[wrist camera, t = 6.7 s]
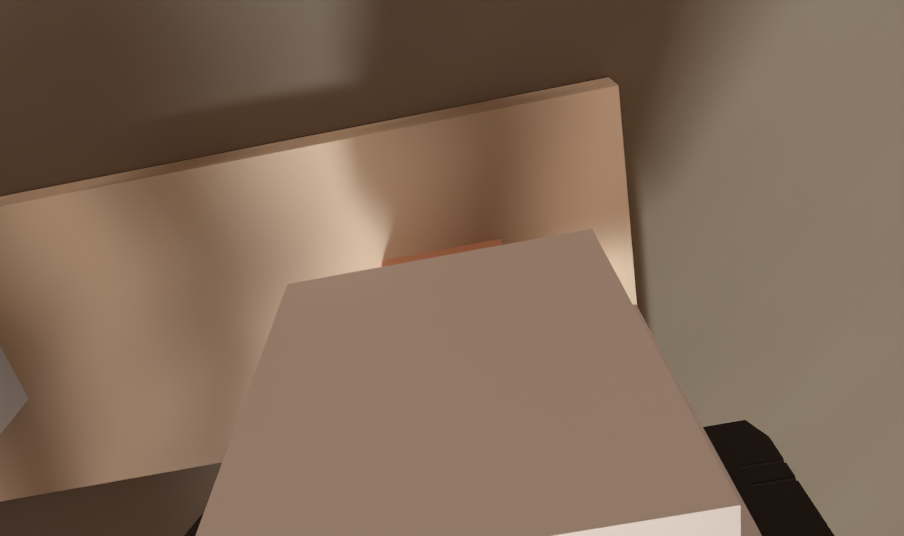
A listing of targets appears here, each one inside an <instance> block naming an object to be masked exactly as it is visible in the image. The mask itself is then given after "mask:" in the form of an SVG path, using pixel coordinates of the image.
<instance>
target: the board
mask: <svg viewBox="0 0 904 536" xmlns="http://www.w3.org/2000/svg"><path fill="white" fill-rule="evenodd" d="M587 229H592V230H593V232H594V233H595V235H596V237H597V239H598V241H599V243H600V245H601V246H602V248H603V250H604V252H605V254H606V256H607V258H608V259H609V261H610V263H611V265H612V267H613V269H614V271H615V272H616V274H617V276H618V278H619V280H620V282H621V284H622V286H623V287H624V289H625V291H626V293H627V295H628V297H629V299H630V300H631V302H632V304H633V305H635V304H636V305H637V300H636V288H635V276H634V264H633V252H632V240H631V228H630V216H629V204H628V192H627V180H626V169H625V157H624V145H623V133H622V121H621V109H620V97H619V85H617V84H616V83H615V82H614V81H613V80H611V79H610V78H609V77H607V78H602V79H597V80H592V81H587V82H582V83H576V84H571V85H566V86H561V87H556V88H551V89H546V90H541V91H536V92H531V93H525V94H520V95H515V96H510V97H505V98H500V99H495V100H490V101H485V102H480V103H475V104H469V105H464V106H459V107H454V108H449V109H444V110H439V111H434V112H429V113H424V114H418V115H413V116H408V117H403V118H398V119H393V120H388V121H383V122H378V123H373V124H368V125H362V126H357V127H352V128H347V129H342V130H337V131H332V132H327V133H322V134H317V135H311V136H306V137H301V138H296V139H291V140H286V141H281V142H276V143H271V144H266V145H261V146H255V147H250V148H245V149H240V150H235V151H230V152H225V153H220V154H215V155H210V156H204V157H199V158H194V159H189V160H184V161H179V162H174V163H169V164H164V165H159V166H154V167H148V168H143V169H138V170H133V171H128V172H123V173H118V174H113V175H108V176H103V177H97V178H92V179H87V180H82V181H77V182H72V183H67V184H62V185H57V186H52V187H47V188H41V189H36V190H31V191H26V192H21V193H16V194H11V195H6V196H1V197H0V347H1V349H2V350H3V352H4V354H5V356H6V358H7V360H8V361H9V363H10V365H11V367H12V369H13V371H14V372H15V374H16V376H17V378H18V380H19V382H20V383H21V385H22V387H23V389H24V391H25V392H26V394H27V396H28V398H29V399H28V401H27V402H26V403H25V404H24V405H23V407H22V408H21V409H20V410H19V412H18V413H17V414H16V415H15V417H14V418H13V419H12V420H11V422H10V423H9V424H8V425H7V427H6V428H5V429H4V430H3V431H2V433H1V434H0V502H1V501H7V500H12V499H18V498H24V497H29V496H35V495H41V494H46V493H52V492H58V491H63V490H69V489H75V488H80V487H86V486H92V485H97V484H103V483H109V482H114V481H120V480H125V479H131V478H137V477H142V476H148V475H154V474H159V473H165V472H171V471H176V470H182V469H188V468H193V467H199V466H205V465H210V464H216V463H222V462H223V459H224V456H225V453H226V451H227V448H228V445H229V442H230V440H231V437H232V434H233V431H234V429H235V426H236V423H237V421H238V418H239V415H240V412H241V410H242V407H243V404H244V401H245V399H246V396H247V393H248V390H249V388H250V385H251V382H252V379H253V377H254V374H255V371H256V369H257V366H258V363H259V360H260V358H261V355H262V352H263V349H264V347H265V344H266V341H267V338H268V336H269V333H270V330H271V327H272V325H273V322H274V319H275V317H276V314H277V311H278V308H279V306H280V303H281V300H282V297H283V295H284V292H285V289H286V286H287V284H290V283H296V282H301V281H307V280H312V279H318V278H323V277H329V276H334V275H340V274H345V273H351V272H356V271H362V270H367V269H373V268H378V267H382V261H384V260H390V259H395V258H400V257H406V256H411V255H416V254H422V253H427V252H432V251H438V250H443V249H448V248H454V247H459V246H464V245H470V244H475V243H480V242H486V241H491V240H496V239H501V240H502V244H503V245H505V244H510V243H515V242H521V241H526V240H532V239H537V238H543V237H548V236H554V235H559V234H565V233H570V232H576V231H581V230H587Z"/></svg>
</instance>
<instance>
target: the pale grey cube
mask: <svg viewBox="0 0 904 536" xmlns="http://www.w3.org/2000/svg"><path fill="white" fill-rule="evenodd" d="M28 399H29V398H28V396H27V394H26V392H25V391H24V389H23V387H22V385H21V383H20V382H19V380H18V378H17V376H16V374H15V372H14V371H13V369H12V367H11V365H10V363H9V361H8V360H7V358H6V356H5V354H4V352H3V350H2V349H1V347H0V434H1V433H2V431H3V430H4V429H5V428H6V427H7V425H8V424H9V423H10V422H11V420H12V419H13V418H14V417H15V415H16V414H17V413H18V412H19V410H20V409H21V408H22V407H23V405H24V404H25V403H26V402H27V401H28Z"/></svg>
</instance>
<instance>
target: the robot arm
mask: <svg viewBox="0 0 904 536" xmlns="http://www.w3.org/2000/svg"><path fill="white" fill-rule="evenodd" d="M633 306H634V308H635V310H636V312H637V313H638V315H639V317H640V319H641V321H642V323H643V325H644V326H645V328H646V330H647V332H648V334H649V336H650V338H651V339H652V341H653V343H654V345H655V347H656V349H657V351H658V352H659V354H660V356H661V358H662V360H663V362H664V364H665V365H666V367H667V369H668V371H669V373H670V375H671V377H672V379H673V380H674V382H675V384H676V386H677V388H678V390H679V392H680V393H681V395H682V397H683V399H684V401H685V403H686V405H687V406H688V408H689V410H690V412H691V414H692V416H693V418H694V419H695V421H696V423H697V425H698V427H699V429H700V431H701V432H702V434H703V436H704V438H705V440H706V442H707V444H708V445H709V447H710V449H711V451H712V453H713V455H714V457H715V458H716V460H717V462H718V464H719V466H720V468H721V470H722V472H723V473H724V475H725V477H726V479H727V481H728V483H729V485H730V486H731V488H732V490H733V492H734V494H735V496H736V498H737V499H738V501H739V503H740V505H741V536H834V534H833V533H832V531H831V530H830V528H829V527H828V525H827V524H826V522H825V521H824V519H823V518H822V516H821V515H820V513H819V512H818V510H817V509H816V507H815V506H814V504H813V503H812V501H811V500H810V498H809V497H808V495H807V494H806V492H805V491H804V489H803V488H802V486H801V484H800V483H799V481H796V479H795V475H794V474H793V472H792V471H791V469H790V468H789V466H788V465H787V463H784V460H783V457H782V456H781V454H780V453H779V451H778V450H777V448H776V447H775V445H774V444H773V442H772V441H771V439H770V438H769V437H768V436H767V435H766V434H764V433H763V432H761V431H760V430H758V429H757V428H756V427H754V426H753V425H751V424H750V423H748V422H747V421H746V420H743V421H737V422H731V423H725V424H719V425H713V426H707V427H703V426H702V425H701V423H700V421H699V419H698V417H697V415H696V414H695V412H694V410H693V408H692V406H691V404H690V402H689V401H688V399H687V397H686V395H685V393H684V391H683V390H682V388H681V386H680V384H679V382H678V380H677V379H676V377H675V375H674V373H673V371H672V369H671V368H670V366H669V364H668V362H667V360H666V358H665V357H664V355H663V353H662V351H661V349H660V347H659V346H658V344H657V342H656V340H655V338H654V336H653V335H652V333H651V331H650V329H649V327H648V325H647V324H646V322H645V320H644V318H643V316H642V314H641V313H640V311H639V309H638V307H637V305H636V304H635V305H633ZM202 516H203V514H202V515H201V516H200V517H199V519H198V520H197V521H196V522H195V524H194V525H193V526H192V527H191V529H190V530H189V531H188V532H187V533H186V535H185V536H195V535H196V533H197V530H198V527H199V524H200V522H201V519H202Z"/></svg>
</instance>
